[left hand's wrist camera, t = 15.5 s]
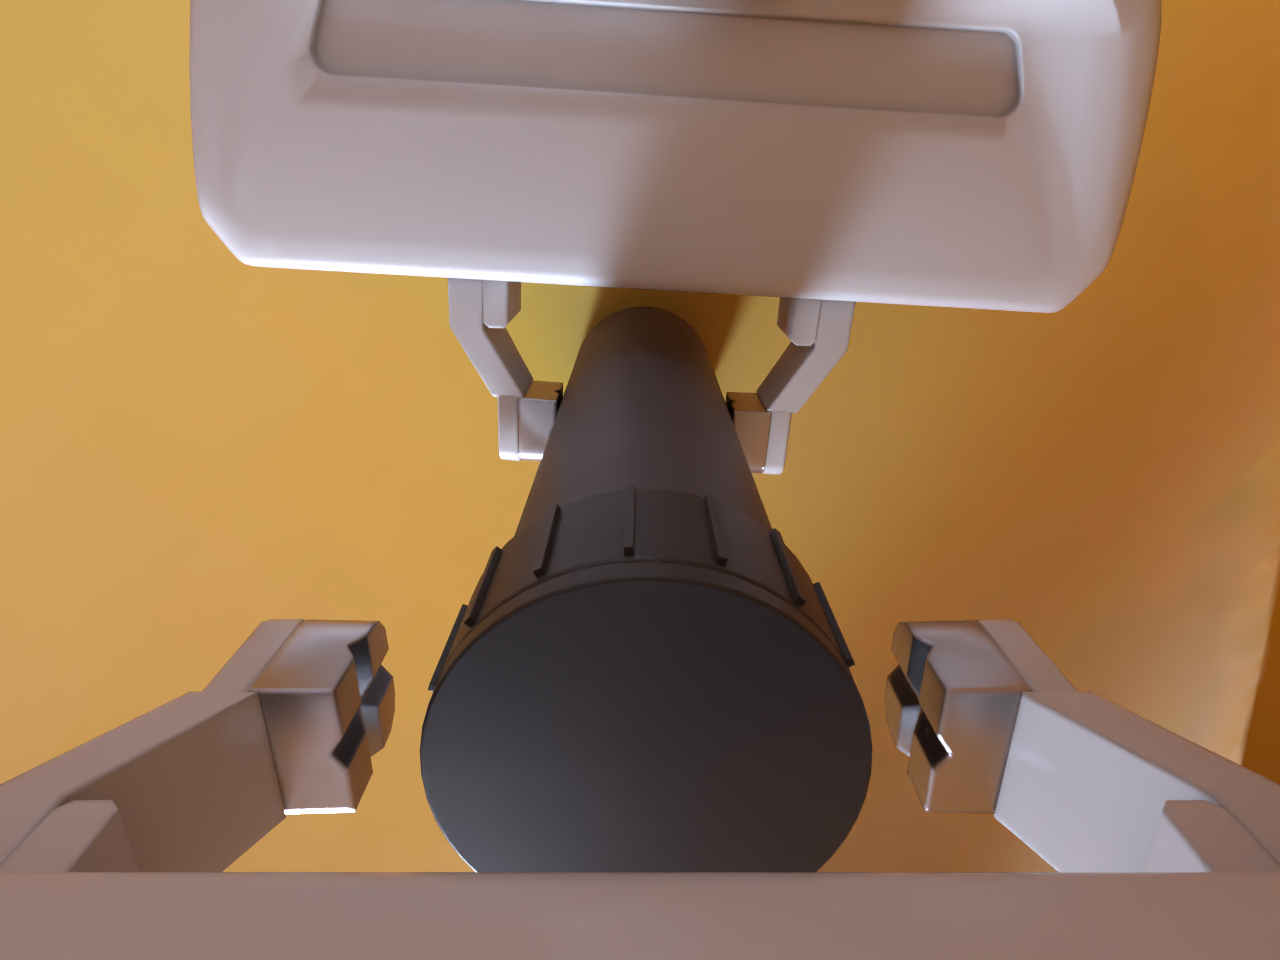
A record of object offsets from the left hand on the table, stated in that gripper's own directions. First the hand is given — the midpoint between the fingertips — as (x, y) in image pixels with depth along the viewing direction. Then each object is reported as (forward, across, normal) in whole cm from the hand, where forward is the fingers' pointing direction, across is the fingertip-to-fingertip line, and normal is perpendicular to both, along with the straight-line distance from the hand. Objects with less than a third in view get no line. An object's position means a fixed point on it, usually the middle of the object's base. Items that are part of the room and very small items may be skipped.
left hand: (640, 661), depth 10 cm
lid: (-2, 0, 0) cm, 2 cm away
